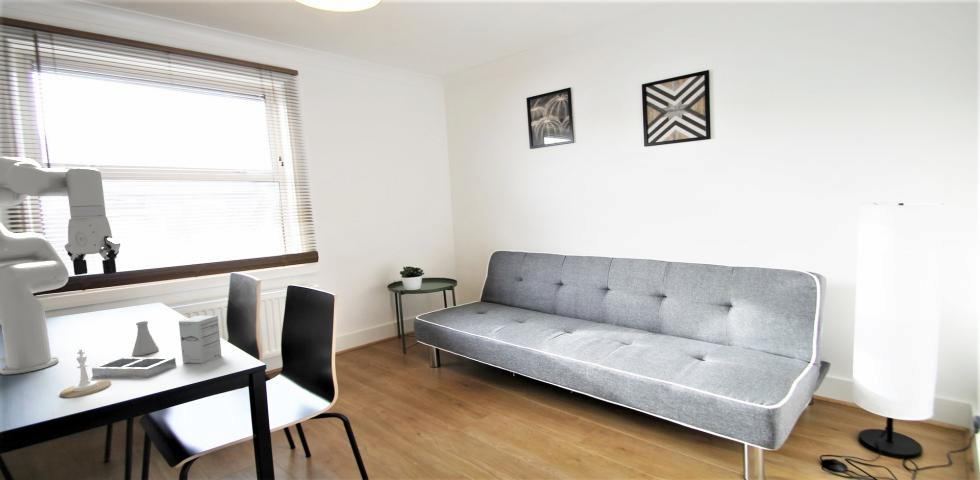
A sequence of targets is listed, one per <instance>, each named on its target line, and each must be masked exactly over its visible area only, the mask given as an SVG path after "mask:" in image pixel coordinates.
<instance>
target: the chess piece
mask: <svg viewBox="0 0 980 480" xmlns="http://www.w3.org/2000/svg"><path fill="white" fill-rule="evenodd" d="M77 354H78V355H79V356H77V357H76V358H75V359H76V361H77V362H78V364H79V365H78V366H77V367H76V368H77V369H80V377H79V378H80V381H79V382H78V383H77V384H75V385H73V386H74V387H73V391H83V390H88V389H91V388H94V387H96V386H97V385H98V384H97V382H96V381H97V380H91V379H90V378H89V375H88V372H87V369H86V367H89V364H87V363H86V361H87V355H84V354H85V351H83V349H81V348H80V349H79V350H78V351H77Z"/></svg>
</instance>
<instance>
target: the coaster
mask: <svg viewBox="0 0 980 480" xmlns="http://www.w3.org/2000/svg"><path fill="white" fill-rule="evenodd" d="M95 381H96V382H97V384H98V385H97V386H96V387H94V388H91V389H88V390H83V391H73V387H74V386H75V385H73V386H70V387H68V388H65V389H63V390H61V391H60V392H59V397H60V398H63V399H64V398H66V399H67V398H68V399H69V398H78V397H83V396H88V395H92V394H94V393H95V394H96V393H98V392H101V391H103V390H106V389H107V388H109V387H111V385H112V382H111V380H108V379H103V380H102V379H100V380H95Z"/></svg>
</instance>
